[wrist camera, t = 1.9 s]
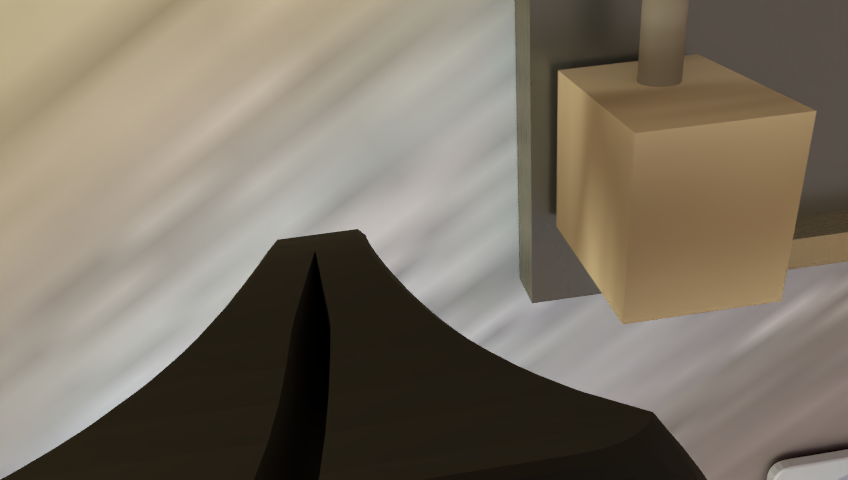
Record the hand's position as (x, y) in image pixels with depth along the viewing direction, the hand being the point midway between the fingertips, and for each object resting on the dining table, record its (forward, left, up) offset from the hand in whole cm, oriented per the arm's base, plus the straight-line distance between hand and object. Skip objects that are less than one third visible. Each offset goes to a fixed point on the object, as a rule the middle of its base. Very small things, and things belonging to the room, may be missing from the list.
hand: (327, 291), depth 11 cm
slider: (+3, -7, -4) cm, 9 cm away
